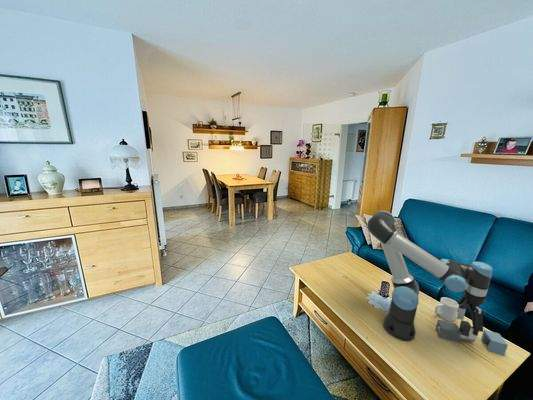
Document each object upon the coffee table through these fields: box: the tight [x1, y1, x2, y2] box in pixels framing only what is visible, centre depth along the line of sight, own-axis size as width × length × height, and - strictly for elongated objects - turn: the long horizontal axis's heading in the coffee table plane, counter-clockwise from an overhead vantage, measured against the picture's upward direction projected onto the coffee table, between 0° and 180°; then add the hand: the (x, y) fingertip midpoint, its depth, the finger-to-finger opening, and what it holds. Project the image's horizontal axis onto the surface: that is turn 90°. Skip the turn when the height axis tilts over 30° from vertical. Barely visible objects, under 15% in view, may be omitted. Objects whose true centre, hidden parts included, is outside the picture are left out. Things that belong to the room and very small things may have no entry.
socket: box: [480, 329, 509, 356], centre depth 110 cm, size 6×7×6 cm
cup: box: [434, 296, 459, 322], centre depth 129 cm, size 8×12×10 cm
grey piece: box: [436, 319, 476, 343], centre depth 115 cm, size 15×3×9 cm, turn 69°
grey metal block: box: [435, 319, 461, 344], centre depth 116 cm, size 8×6×6 cm
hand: (465, 328), depth 113 cm, fingers open, 13 cm apart
